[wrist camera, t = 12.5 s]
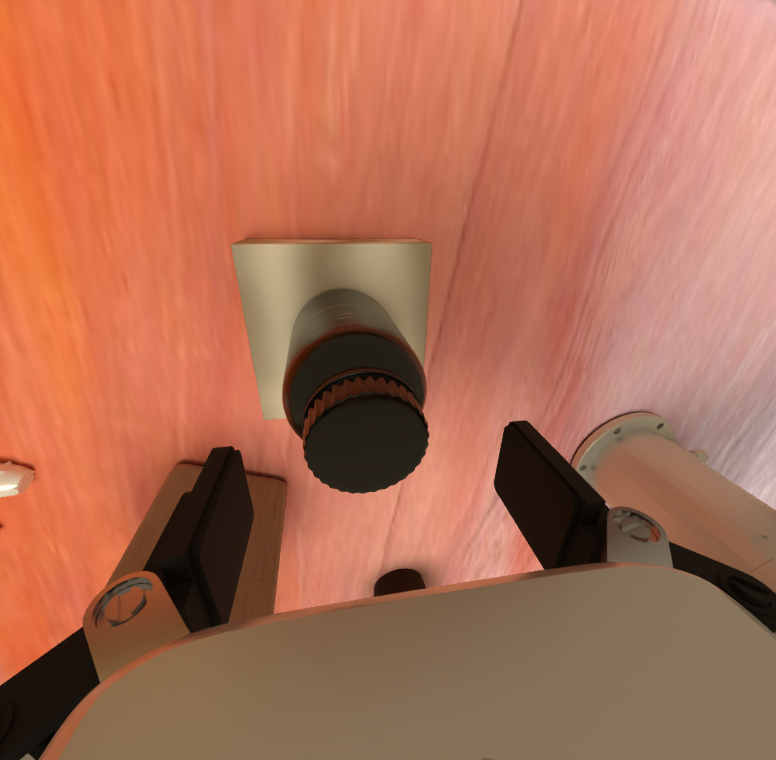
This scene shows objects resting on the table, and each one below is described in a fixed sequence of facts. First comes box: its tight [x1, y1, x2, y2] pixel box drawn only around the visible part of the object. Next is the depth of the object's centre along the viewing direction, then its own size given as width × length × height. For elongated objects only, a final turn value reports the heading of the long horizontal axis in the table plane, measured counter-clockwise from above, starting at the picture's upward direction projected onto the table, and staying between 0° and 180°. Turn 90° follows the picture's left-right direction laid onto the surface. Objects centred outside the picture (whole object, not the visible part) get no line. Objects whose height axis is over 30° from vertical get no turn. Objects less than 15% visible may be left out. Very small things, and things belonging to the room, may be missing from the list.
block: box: [105, 464, 287, 623], centre depth 24 cm, size 10×10×20 cm
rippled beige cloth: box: [231, 239, 432, 420], centre depth 25 cm, size 12×12×4 cm
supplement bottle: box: [282, 289, 429, 493], centre depth 18 cm, size 7×7×12 cm
